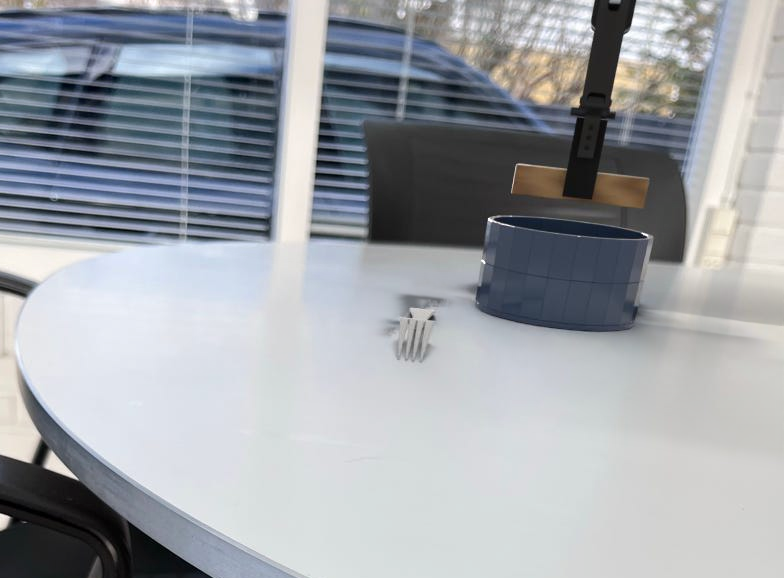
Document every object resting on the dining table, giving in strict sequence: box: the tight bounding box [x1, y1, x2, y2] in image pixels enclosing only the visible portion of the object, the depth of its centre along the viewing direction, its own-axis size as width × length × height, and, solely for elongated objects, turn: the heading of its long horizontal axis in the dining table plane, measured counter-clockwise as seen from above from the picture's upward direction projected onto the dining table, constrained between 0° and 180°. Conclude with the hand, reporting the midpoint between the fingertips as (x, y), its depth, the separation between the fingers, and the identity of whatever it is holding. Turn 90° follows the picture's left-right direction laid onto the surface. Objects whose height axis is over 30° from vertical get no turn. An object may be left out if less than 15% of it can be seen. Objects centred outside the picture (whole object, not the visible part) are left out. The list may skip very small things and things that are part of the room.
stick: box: [511, 163, 651, 210], centre depth 98 cm, size 12×2×2 cm, turn 75°
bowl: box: [474, 215, 655, 332], centre depth 102 cm, size 15×15×8 cm
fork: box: [397, 307, 437, 363], centre depth 89 cm, size 3×21×3 cm, turn 171°
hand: (577, 196), depth 98 cm, fingers closed on stick, 2 cm apart
